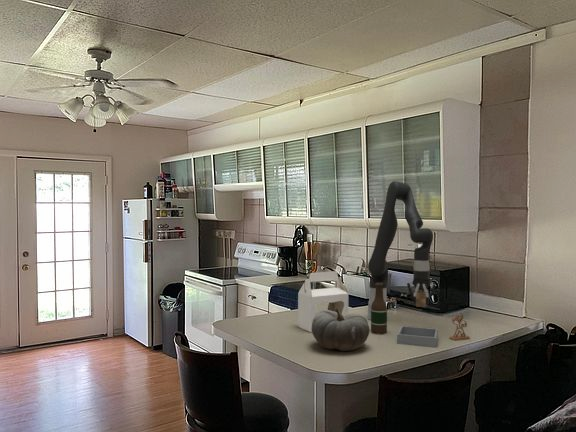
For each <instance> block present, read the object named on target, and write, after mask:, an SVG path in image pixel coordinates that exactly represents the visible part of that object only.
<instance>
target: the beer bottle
mask: <svg viewBox="0 0 576 432" xmlns="http://www.w3.org/2000/svg"><path fill="white" fill-rule="evenodd" d="M387 329H388V306H387V302H386V303H385V301H384V299H383V283H376V293H375V300H374V301H373V302H372V305H371V319H370V331H371V333H372V334H375V335H385V334H387V332H388V330H387Z"/></svg>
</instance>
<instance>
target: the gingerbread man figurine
mask: <svg viewBox="0 0 576 432" xmlns="http://www.w3.org/2000/svg"><path fill="white" fill-rule="evenodd" d="M451 321H452V323H453V325H456V329H455V331H454V333H453V335H451V336H449V337H448V339H449V340H452V341H464V340H470V339H471V338H470V336H468V335H467V334H466V333H465V331H464V328H467V327H468V323H467V321H466V320H464V315H463V313H461V312H458V313H456V316H454V317H452V319H451ZM455 321H456V322H457V323H455ZM462 322H464V323H462ZM460 329H461V330H462V332H461V330H460ZM459 334H460V335H459Z"/></svg>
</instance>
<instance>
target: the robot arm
mask: <svg viewBox="0 0 576 432" xmlns="http://www.w3.org/2000/svg"><path fill="white" fill-rule="evenodd" d="M397 200H398V201H402V202H403V204H404V206H405V209H404V218H405V221H406V222H407V225H408V227H409V236H410V239H411V241H412V242H413V243H415V244H421V246H420V247H416V248H414V250H413V252H414V253H413V279H412V282H407V284H406V285H407V290H408V292H409V295H410V296H412V298H413V303H414V304H415V305H416V292H418V291H425V292H426V306H428V305H429V303H430V298H431V297H433V296H434V292H435V290H436V283H432V282H431V281H430V268H431V267H430V266H431V265H430V249H431V246H432V243H433V239H434V235H433V231H432V230H431V228H425V227H424V228H422V227H423V225H424V221H423V219H422V217H421V215H420V213H419V211H418V208H417V206H416V203H415V198H414V195H413V192H412V189H411V186H410V184H407V183H405V182H400V181H397V180H393V181H391V182H390V183H389V185H388V188H387V191H386V197H385V203H384V207H383V212H382V217H381V220H380V222H379V225H378V230H377V235H376V239H375V244H374V248H373V251H372V254H371V256H370V259H369V261H368V264H367V265H368V266H367V268H368V272H369V273H370V280H369V282H368V284H369V285H368V288H369V290H368V292H369V293H368V294H369V296H368V302H367V304H368V307H367V311H368V313H367V320H371V305H372V302H373V301H374V300H375V293H376V283H383V299H384V301H385V303H386V304H387V285H388V280H389V278H388V277H389V265H388V261H387V255H388V253H389V252H388V251H389V249H390V248H391V246H392V244H393V241H394V239H395V238H396V237H395V236H396V234H397V230H398V227H399V226H398V225H399V223H398V218H397V214H396V212H395V211H396V209H395V208H396V201H397ZM413 286H414V288H415V290H414V292H413V289H412V287H413ZM429 287H430V288H431V291H430V293H429V289H428V288H429Z"/></svg>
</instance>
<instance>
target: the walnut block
mask: <svg viewBox="0 0 576 432" xmlns="http://www.w3.org/2000/svg"><path fill="white" fill-rule="evenodd" d="M415 307H417V308H419V307H420V308H426V307H427V305H426V292H425V291H423V290H418V292H416V304H415Z"/></svg>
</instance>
